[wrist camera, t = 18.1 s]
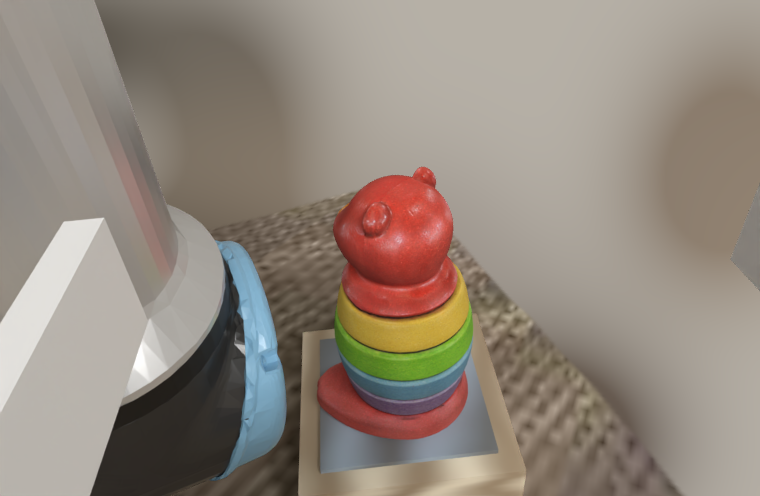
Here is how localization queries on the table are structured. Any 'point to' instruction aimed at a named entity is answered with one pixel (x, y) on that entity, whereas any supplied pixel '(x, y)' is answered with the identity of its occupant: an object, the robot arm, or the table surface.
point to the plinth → (409, 457)
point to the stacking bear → (398, 313)
